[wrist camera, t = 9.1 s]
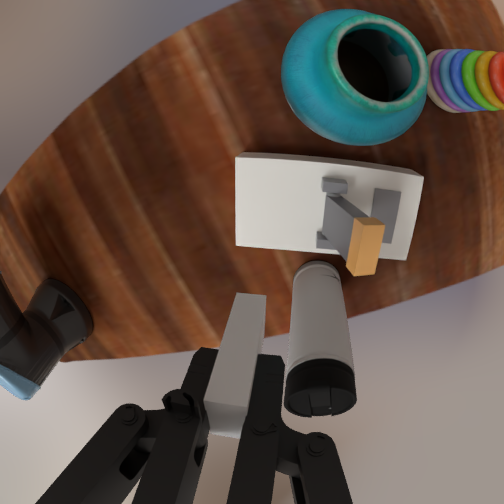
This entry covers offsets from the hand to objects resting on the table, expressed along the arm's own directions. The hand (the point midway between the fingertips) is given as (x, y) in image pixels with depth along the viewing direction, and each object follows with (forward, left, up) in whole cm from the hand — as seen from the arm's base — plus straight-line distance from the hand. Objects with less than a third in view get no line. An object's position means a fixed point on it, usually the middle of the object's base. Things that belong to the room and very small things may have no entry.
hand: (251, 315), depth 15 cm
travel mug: (+6, -11, -22) cm, 25 cm away
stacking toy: (+20, +17, -22) cm, 34 cm away
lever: (+6, 0, -16) cm, 17 cm away
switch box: (+6, 0, -21) cm, 22 cm away
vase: (+6, +13, -22) cm, 26 cm away
